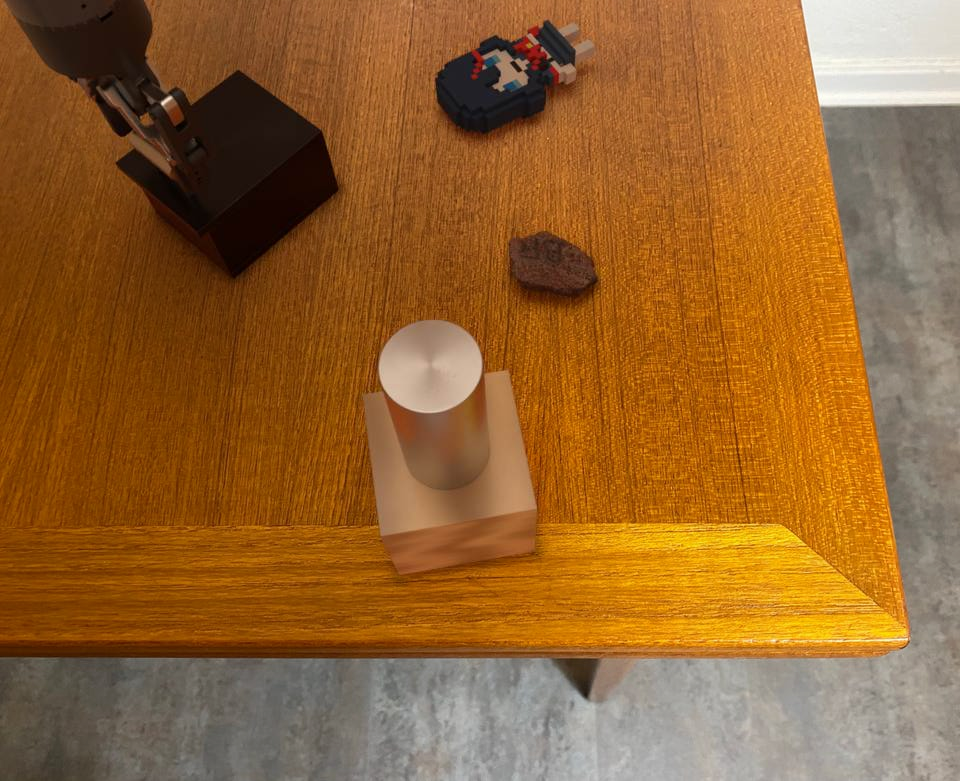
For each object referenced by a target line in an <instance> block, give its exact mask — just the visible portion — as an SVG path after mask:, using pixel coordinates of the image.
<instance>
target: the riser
mask: <svg viewBox="0 0 960 781" xmlns="http://www.w3.org/2000/svg"><path fill="white" fill-rule="evenodd" d="M484 377H485V390H486V403H487V416H488V429H489V443H490V453H489V458H488V462H487V464H486V466H485V468H484V470H483V471H482V473H481V474H480V475H479V476H478V477H477V478H476V479H475V480H473V481H472V482H471V483H469V484H467V485H465V486H463V487H460V488H457V489H452V490H439V489H434V488H431V487H428V486H426V485H424V484H422V483H421V482H419V481H418V480H417V479H416V478H415V477H414V476H413V475H412V474H411V472H410V471H409V469H408V467H407V465H406V462H405V459H404V456H403V453H402V450H401V447H400V444H399V441H398V437H397V434H396V431H395V428H394V425H393V422H392V419H391V416H390V412H389V409H388V406H387V403H386V400H385V397H384V394H383V391H382V390H381V391H374V392H368V393H363V394H362V403H363V404H362V405H363V412H364V420H365V427H366V436H367V443H368V452H369V459H370V467H371V476H372V483H373V484H372V485H373V492H374V499H375V507H376V516H377V523H378V524H377V525H378V532H379V537H380V540H381V541H382V543H383V545H384V547H385V549H386V551H387V554H388V555H389V558H390V559H391V561H392V563H393V565H394V567H395V569H396V571H397V573H398V575H399V576H404V575H410V574H414V573H420V572H426V571H432V570H437V569H443V568H448V567H454V566H460V565H464V564H470V563H475V562H481V561H488V560H492V559H498V558H503V557H509V556H515V555H521V554H525V553H532V552H535V550H536V535H537V520H538V505H537V500H536V494H535V490H534V485H533V482H532V481H533V480H532V475H531V470H530V466H529V462H528V457H527V452H526V447H525V443H524V438H523V433H522V432H523V431H522V427H521V423H520V417H519V414H518V409H517V404H516V399H515V394H514V389H513V385H512V381H511V375H510V371H509V369H503V370H497V371H492V372H484Z"/></svg>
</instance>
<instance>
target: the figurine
mask: <svg viewBox="0 0 960 781" xmlns="http://www.w3.org/2000/svg"><path fill="white" fill-rule="evenodd" d="M580 30H581V29H580V27H579V26H577V24H576V23H575V22H574V21H573V22H571V23H570V24H567V25H565V26H563V27H561V28H559V29H558V28H556V27H555V25H554V24H553V23H552V22H551V21H550V19H546V20H544V21H543V22H542V27H539V26H538V25H535V26H533V27H531V28H528V29H527V34H526V35H524V36H522V37H519V38H518V39H516V40H513V41H510V40H509V39H504V38H502V37H500V36H498V34H495V35H493V36H490V37H488V38H486V39H483V40H482V41H481V42H479V47H477V48H475V49H472V50H470V51H468V52H466V53H464V54H462V55H460V56H458V57H456V58H454V59H451V60H449V61H447V62H446V63H444V64H443V67H444V68H442V69H441V70H439V71H437V72H436V75H437V77H435V78H434V81H435V94H436V102H437V104H438V105H439V107H440V108H441V109H442V111H444V113H445V114H446V116H447V117H448V118H449V119H450V121H451V122H452V123H453V125H454V126H455V127H456V128H460V129H461V130H462V131H463V130H465V132H466V133H471V132H473V134H475V135H476V134H478V133H481V135H485V134H489V133H490V132H493V131H495V130H497V129H499V128H501V127H503V126H505V125H507V124H509V123H511V122H513V121H516V120H517V119H519V118H522V120H525V119H528V118H532V117H534V116H536V115H537V114H540V113H542V112H544V111H545V106H546V104H547V89H546V87H545V86H547V87H548V88H552V87H554V86H556V85H558V84H560V83H562V82H563V83H564V84H565V85H568V84H569V85H570V84H571V83H573V82H575V81H576V80H577V69H576V67H575V66H576V65H579V64H580V63H583V62H585V61H587V60H589V59H592V58H594V57H595V55H596V54H595V53H596V45H595V44H594V43H593V42H592V40H591V39H589V38H587V39H586V40H584V41H582V42H580V43H577V44H575V45H574V46H572V43H575V42H576V41H579V40H580V32H581V31H580Z"/></svg>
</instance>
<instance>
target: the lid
mask: <svg viewBox="0 0 960 781" xmlns="http://www.w3.org/2000/svg"><path fill="white" fill-rule="evenodd" d="M190 105H191V107H192V109H193V111H194V113H195V115H196V117H197V119H198V121H199V123H200V125H201V127H202V129H203V131H204V133H205V135H206V137H207V139H208V141H209V142H210V144H211V146H212V148H213V150H214V153H213V154H212V155H211V156H210V157H208V158H206V159H205V160H204V161H203V162H204V164H205V166H206V168H207V170H208V172H209V174H210V176H211V177H210V181H209V182H208V183H207V184H205V185H204V186H203V187H202V188H200V189H199V190H198V191H197V192H195V193H194V194H188V193H187V192H186V191H185V190H183V189H182V187H181V185H180V184H179V182H178V180H177V178H176V176H175V175H174V173H173V171H172V169H171V167H170V165H169V164H168V162H167V161H166V160H165V157H164V156H163V155H162V153H161V152H160V151H159V150H158V148H157V147H156V146H155V145H154V143H153V142H152V141H151V140H143V139H141V138H140V137H139V136H138V135H137V133H136V132H135V131H134V130H133V131H131V132H130V135H129V140H128V141H129V144H130V146H131V148H132V149H131V150H130V151H128V152H127V153H126V154H125V155H123V156H122V157H121V158H119V159H118V160H116V162H114V164H115V166H116V167H117V168H118V170H119V171H120V172H121V173H122V174H124V175H125V176H126V177H127V178H129V179H130V180H131V181H132V182H133V183H135V185H137V186H138V187H139V188H141V190H142V189H143V190H144V191H145V192H147V193H148V194H149V195H150V196H151V197H152V198H154V199H155V200H156V201H157V202H158V203H160V204H161V205H162V206H163V207H164V208H166V209H167V210H168V211H169V212H170V213H171V214H173V215H174V216H175V217H176V218H177V219H179V220H180V221H181V222H182V223H183V224H184V225H186V226H187V227H188V228H189V229H190V230H192V231H193V232H194V233H195V234H196V235H198V236H199V237H200V238H201V237H203V236H204V235H205V234H206V233H208V232H209V231H210V230H211V229H212V228H214V227H215V226H216V225H217V224H219V223H220V222H221V221H222V220H223V219H225V218H226V217H227V216H228V215H230V214H231V213H232V212H233V211H234V210H236V209H237V208H238V207H239V206H241V205H242V204H243V203H244V202H245V201H247V200H248V199H249V198H250V197H252V196H253V195H254V194H255V193H256V192H258V191H259V190H260V189H261V188H263V187H264V186H265V185H266V184H267V183H269V182H270V181H271V180H272V179H274V178H275V177H276V176H277V175H278V174H280V173H281V172H282V171H283V170H285V169H286V168H287V167H288V166H289V165H291V164H292V163H293V162H294V161H295V160H297V159H298V158H299V157H300V156H302V155H303V154H304V153H305V152H306V151H308V150H309V149H310V148H311V147H313V146H314V145H315V144H316V143H317V142H319V141H320V140H321V139H322V138H324V139H325V135H324V132H323V130H322V129H321V128H319V127H318V126H316V125H315V124H314V123H312V122H311V121H309V119H307V118H305V117H304V116H303V115H302V114H300V113H299V112H297V111H296V110H295V109H293V108H292V107H291V106H289V105H288V104H286V103H285V102H284V101H283V100H282V99H279V97H277V96H276V95H274V94H273V93H272V92H270V91H269V90H267V89H266V88H264V86H262V85H261V84H259V83H258V82H257V81H255V80H254V79H252V78H251V77H250V76H248V75H247V74H245V72H243V71H241V70H240V69H237V70H236V71H234V72H233V73H231V74H230V75H229V76H227V78H225V79H223V80H222V81H221V82H220V83H218V84H217V85H215V86H214V87H213V88H212V89H210V90H208V92H206V93H205V94H204V95H202V96H201V97H200V98H198V99H197V100H196V101H194V102H193V103H192V104H190ZM162 139H163V138H162ZM143 190H142V191H143Z"/></svg>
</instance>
